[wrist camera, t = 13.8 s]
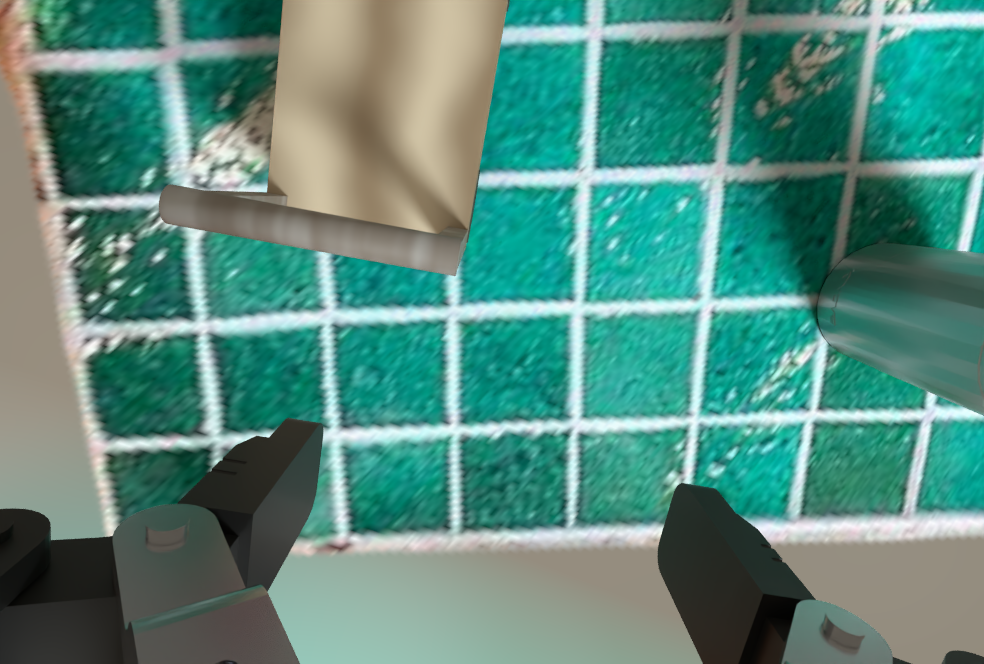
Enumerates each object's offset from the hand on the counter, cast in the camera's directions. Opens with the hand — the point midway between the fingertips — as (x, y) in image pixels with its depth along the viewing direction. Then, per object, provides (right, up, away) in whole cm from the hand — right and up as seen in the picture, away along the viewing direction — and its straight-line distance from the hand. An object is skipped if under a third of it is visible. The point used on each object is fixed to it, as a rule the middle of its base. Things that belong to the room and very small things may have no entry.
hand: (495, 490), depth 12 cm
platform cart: (-6, +21, +26) cm, 34 cm away
